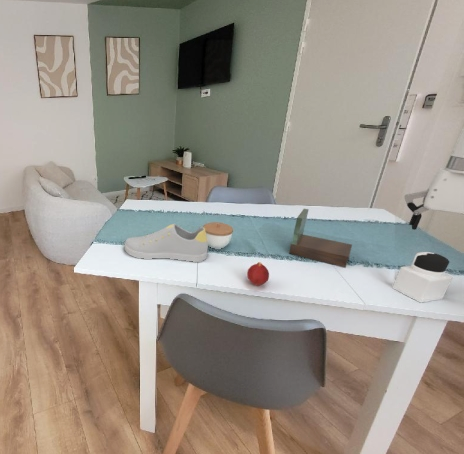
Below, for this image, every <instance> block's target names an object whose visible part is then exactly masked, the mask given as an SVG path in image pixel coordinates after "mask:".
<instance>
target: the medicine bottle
mask: <svg viewBox="0 0 464 454" xmlns="http://www.w3.org/2000/svg"><path fill="white" fill-rule="evenodd" d="M449 264H450V260H449V258H447V257H445V256H443V255H441V254H438V253H435V252H429V251H420V252H419V251H418V252H417V253H416V254H415V255H414V258H413V261H412V262H411V265H405V266H400V267H399V270H398V273H397V275H396V277H395V280H394V283H393V285H392V289H394V290H396V291H398V292H399V293H400V294H403V295H405V296H407V297H408V298H411V300H412V299H413V300H414V301H416V302H418V303H426V302H432V301H437V300H438V301H439V300H442V299H443V298H444V296H445V294H446V292H447V290H448V288H449V287H450V284H451V282H452V280H453V276H452V275H449V274H447V273H446V270H447V269H448V266H449Z"/></svg>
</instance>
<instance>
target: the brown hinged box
mask: <svg viewBox="0 0 464 454" xmlns="http://www.w3.org/2000/svg"><path fill="white" fill-rule="evenodd" d="M308 215H309V208H303V209H302V211H301V212H300V213H299V214H298V215H297V217H296V221H295V225H294V229H293V234H292V239H291V243H290V248H289V252H288V255H293V256H296V257H300V258H305V259H309V260H313V261H317V262H321V263H325V264H329V265H332V266H337V267H341V268H346V267H347V264H348V261H349V258H350V255H351V250H352V247H353V244H352V243H351V244H350V243H347V242H340V241H336V240H331V239H328V238H327V239H326V238H323V237H317V236H313V235H307V234H304V230H305V226H306V222H307V218H308Z"/></svg>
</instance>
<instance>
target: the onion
mask: <svg viewBox="0 0 464 454" xmlns="http://www.w3.org/2000/svg"><path fill="white" fill-rule="evenodd" d="M246 277H247V279H248V281H250V283H251V284H252V285H254V286H257V287H258V286H261V285H265V284H266V283H267V282H268V281H269V279H270V272H269V269H268V268H267V266H265V265H264V264H263V263H262V262H261V261H260V262H257V263H254V264H252V265H251V266H250V267H249V268H248V270H247V272H246Z"/></svg>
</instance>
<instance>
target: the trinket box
mask: <svg viewBox="0 0 464 454" xmlns="http://www.w3.org/2000/svg"><path fill="white" fill-rule="evenodd" d="M202 227H203V228H205V232H206V237H207V241H208V246H209V247H208V248H210V247H211V248H210V249H212V248H215V249H214V250H222V249H221V248H223V249H224V248H225V247H226V246H228V245H229V244H230V243H231V240H232V238H233V232H234V227H233V226H231V225H230V224H227V223H224V222H218V221H217V222H216V221H212V222H206V223H204V224H203V226H202Z"/></svg>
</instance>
